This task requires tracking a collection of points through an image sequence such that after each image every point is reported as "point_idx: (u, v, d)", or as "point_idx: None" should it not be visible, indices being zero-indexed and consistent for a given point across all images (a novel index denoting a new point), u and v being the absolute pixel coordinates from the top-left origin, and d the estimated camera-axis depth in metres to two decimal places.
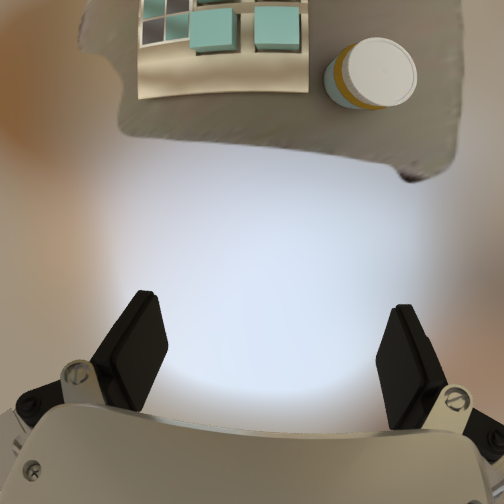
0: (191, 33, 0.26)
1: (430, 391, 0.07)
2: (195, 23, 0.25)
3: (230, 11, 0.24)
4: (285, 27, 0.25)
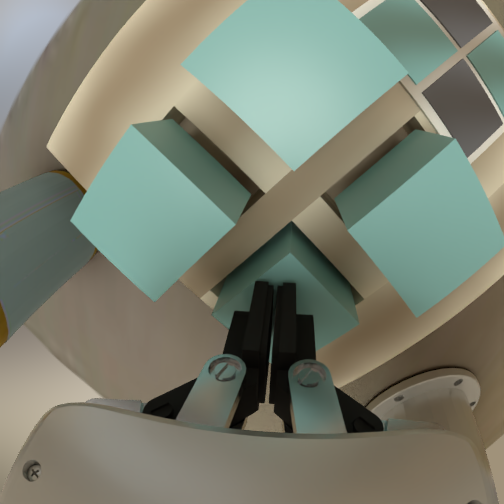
0: (334, 4, 0.06)
1: (285, 363, 0.09)
2: (355, 42, 0.06)
3: (285, 155, 0.08)
4: (119, 231, 0.10)
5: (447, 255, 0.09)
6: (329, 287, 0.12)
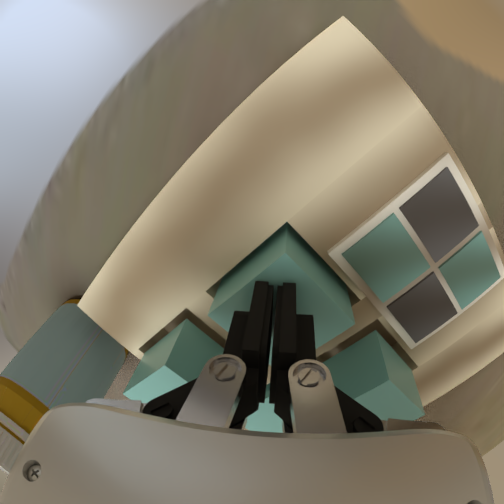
0: (311, 285, 0.12)
1: (285, 363, 0.09)
2: (321, 310, 0.12)
3: None
4: None
5: None
6: None
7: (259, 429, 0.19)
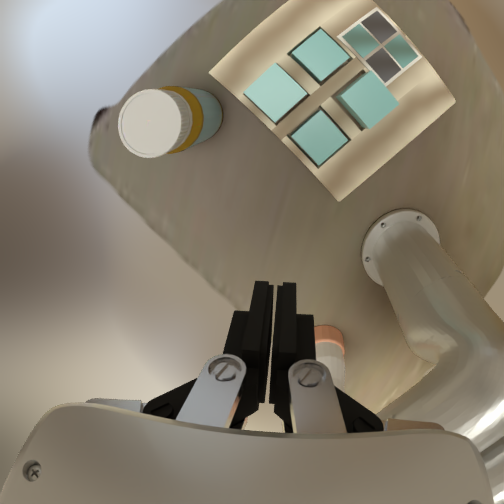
0: (330, 40, 0.27)
1: (285, 363, 0.09)
2: (336, 50, 0.27)
3: (319, 77, 0.29)
4: (265, 95, 0.28)
5: (375, 106, 0.27)
6: None
7: (311, 148, 0.33)
